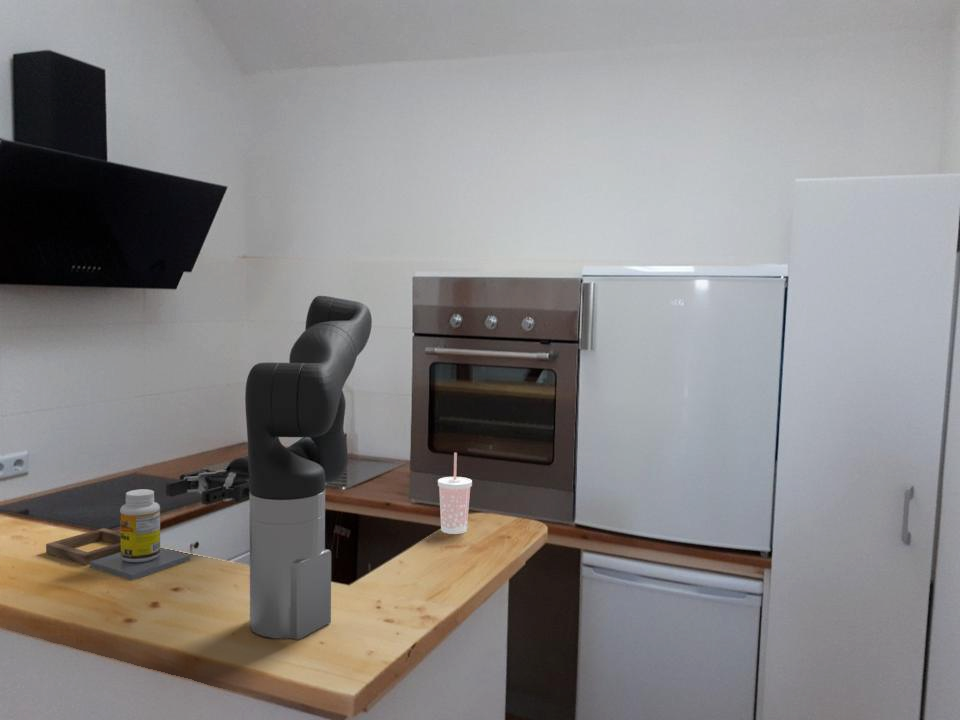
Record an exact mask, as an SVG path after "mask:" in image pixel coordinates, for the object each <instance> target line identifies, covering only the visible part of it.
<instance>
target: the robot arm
mask: <svg viewBox="0 0 960 720" xmlns="http://www.w3.org/2000/svg"><path fill="white" fill-rule="evenodd" d="M372 318H373V317H372V314H371V311H370V309H369V307H368V306H367V305H366V304H364V303H362V302H360V301H356V300H350V299H349V300H348V299H345V298H338V297H334V296H328V295H317V296H315V297H314V298H313V299H312V301H311V303H310V304H309V307H308V311H307V314H306V319H305V329H304V331H303V332H302V333H301V334H300V335H299V337H297V340H295V342H294V344H293V346H292V348H291V350H290V353H289V359H288V360H289V361H288V362H270V361H268V362H259V363H256V364H254V365H253V366H252V368H251V369H250V370H249V373H248V376H247V377H246V384H245V391H244V392H245V397H244V399H245V402H244V403H245V405H244V406H245V418H246V419H245V421H246V436H247V439H246V440H247V455H245V456H242V457H237V458H234V459H233V460H231V461H230V462H229V464H228V465H227V467H226V468H225V469H217V470H216V471H211V469H209V468H205V469H202V470H197V471H193V472H189V473H181V474H180V475H179V480H176V481H172V482H171V481H170V482H167V484H166V485H165V495H166V496H167V497H169V498H171V497H175V496H180V495H183V494H188V493H198V494H200V495H201V503H202V505H205V506H208V505H212V504H215V503H218V502H222V501H224V502H229V501H232V500H233V501H234V503H240V502H246V501H249V628H250V629H251V631H252V632H253V633H255V634H256V635H259V636H262V637H265V638H266V637H267V638H274V639H275V638H276V639H294V640H300V639H302V638H305V637H306V636H308V635H310V634H311V633H313V632H316V631H317V630H319V629H321V628H323V627H324V626H326V625H328V624H331V622H332V617H331V616H332V551H331V550H330V549H327V548H326V484H327V483H329V484H330V483H333V482H336V481H338V480H339V479H341V477H342V476H343V475H344V473H345V472H346V468H347V466H348V461H349V460H348V459H349V455H348V447H347V442H346V437H345V432H344V421H345V415H346V397H345V393H344V391H343V388H344V386H345V384H346V382H347V380H348V377H349V376H350V374H351V372H352V371H353V369H354V366H355V363H356V361H357V358H358V356H359V355H360V354H362V351H364V348H365V347H366V345H367V343H368V341H369V338H370V336H371V332H372V326H373V325H372V323H373V322H372ZM280 438H299V440H297V441H295V442H293V443H292V444H291V445H289V446H288V447H286V446H284V445H283V444H282V442H281V441H280ZM205 486H207V488H204V487H205Z"/></svg>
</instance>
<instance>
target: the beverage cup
mask: <svg viewBox="0 0 960 720" xmlns="http://www.w3.org/2000/svg"><path fill="white" fill-rule="evenodd" d="M457 458H458V452H454V453H453V476H444V477H441V478H439V479H437V487H439V488H438V489H439V491H438V492H439V510H440V531H441V532H442V533H445V534H449V535H459V534H464V533H467V530H468V520H469V508H470V495H471V494H470V493H471V487H473V486H472V485H473V480H472V479H471V478H468V477H463V476H457V467H458V465H457V461H458V459H457Z"/></svg>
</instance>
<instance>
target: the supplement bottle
mask: <svg viewBox="0 0 960 720" xmlns="http://www.w3.org/2000/svg"><path fill="white" fill-rule="evenodd" d="M119 514H120V517H119V518H120V524H119V525H120V527H119V529H120V531H119V532H121V558H122V559H123V560H124V561H127V562H133V563H138V562H146V561H150V560H153V559H155V558H157V557H158V556H159V554H160V547H161V506H160V504H159V503H158V502H156V501H155V491H154V490H152V489H147V488H145V489H144V488H143V489H142V488H141V489H140V488H139V489H134V490H129V491H127V492H126V493H125V504H123V505H122V506H121V507H120V512H119Z"/></svg>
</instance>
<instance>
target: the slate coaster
mask: <svg viewBox="0 0 960 720" xmlns="http://www.w3.org/2000/svg"><path fill="white" fill-rule="evenodd" d="M189 561H190V555H189V554H186V553H183V552H178V551H175V550H172V549H167V548H164V547H161V546H160V554H159V556H158V557H157V558H155V559H153V560H150V561H146V562H138V563H133V562H127V561H124V560H123V559H122V558H121V552H119V553H116V554H112V555H109V556H106V557H103V558H100V559H96V560H93V561H90V564H89V567H90V568H92V569H96V570H99V571H102V572H104V573H109V574H112V575H115V576H117V577H118V576H119V577H122V578H125V579H128V580H132V581H134V580H137V579H140V578H142V577H146V576H148V575H151V574H154V573H157V572H160V571H162V570H166V569H169V568H172V567H174V566H177V565H180V564H182V563H185V562H189Z"/></svg>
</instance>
